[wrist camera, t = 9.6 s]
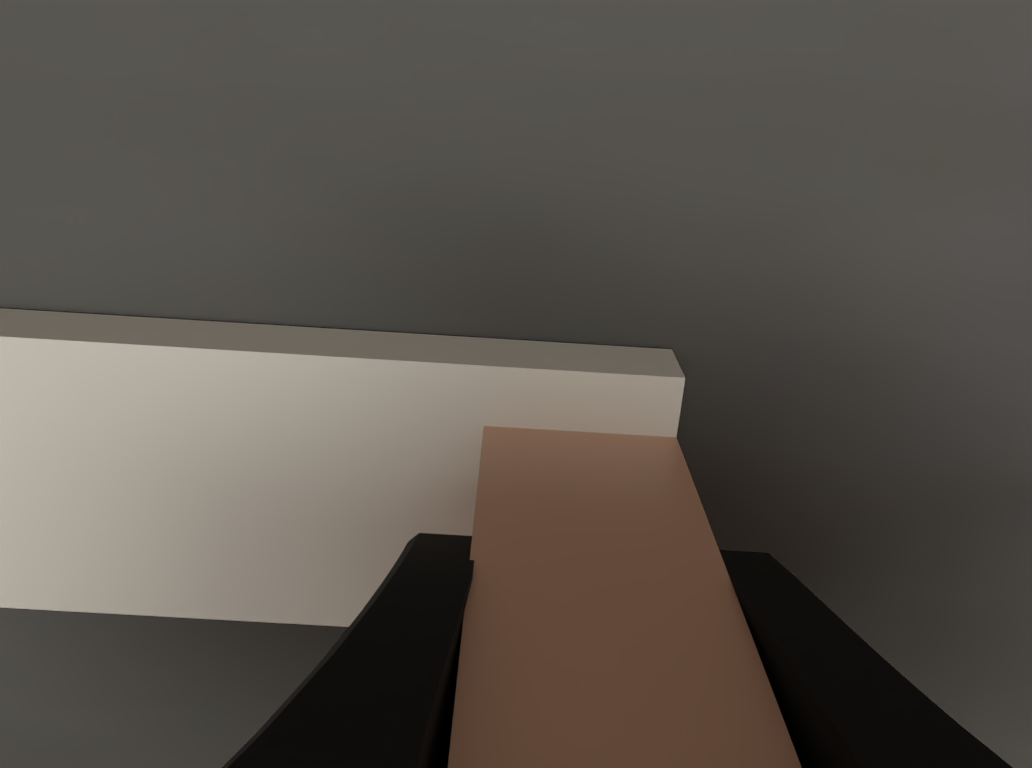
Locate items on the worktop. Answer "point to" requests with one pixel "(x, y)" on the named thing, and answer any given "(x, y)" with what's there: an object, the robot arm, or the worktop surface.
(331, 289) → the worktop surface
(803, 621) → the robot arm
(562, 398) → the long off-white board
